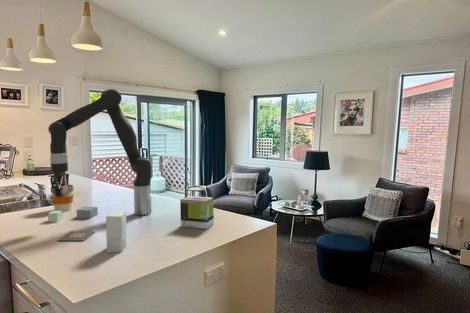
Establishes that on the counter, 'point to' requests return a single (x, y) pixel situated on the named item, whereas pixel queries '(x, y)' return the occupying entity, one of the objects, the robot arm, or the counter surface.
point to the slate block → (87, 212)
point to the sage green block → (54, 216)
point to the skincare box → (116, 231)
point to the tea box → (197, 212)
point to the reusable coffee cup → (63, 200)
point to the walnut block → (62, 191)
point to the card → (77, 236)
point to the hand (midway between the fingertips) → (61, 195)
